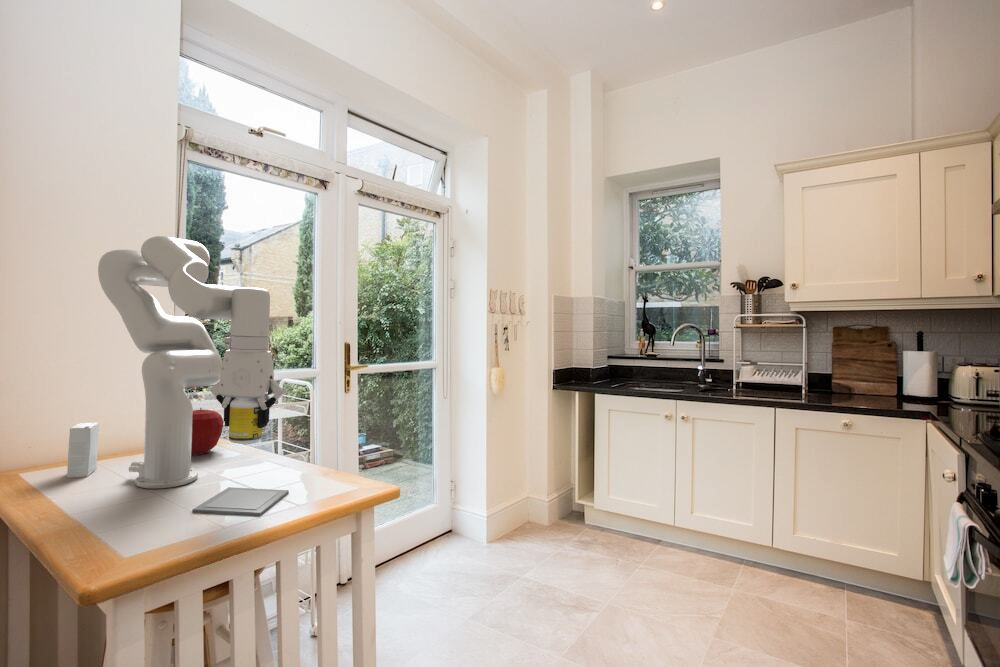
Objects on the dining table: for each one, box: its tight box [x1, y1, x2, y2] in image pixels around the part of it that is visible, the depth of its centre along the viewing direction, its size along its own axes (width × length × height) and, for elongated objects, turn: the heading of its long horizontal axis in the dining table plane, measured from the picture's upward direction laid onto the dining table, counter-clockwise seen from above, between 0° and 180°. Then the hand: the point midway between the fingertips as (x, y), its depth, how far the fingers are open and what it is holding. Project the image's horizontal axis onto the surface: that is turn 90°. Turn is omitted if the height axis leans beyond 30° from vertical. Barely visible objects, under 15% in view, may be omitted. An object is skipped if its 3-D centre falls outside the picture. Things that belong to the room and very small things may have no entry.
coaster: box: [191, 486, 290, 517], centre depth 112 cm, size 14×14×1 cm
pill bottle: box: [228, 397, 263, 445], centre depth 111 cm, size 6×6×12 cm
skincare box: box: [66, 422, 99, 479], centre depth 125 cm, size 6×4×12 cm
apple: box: [191, 407, 225, 456], centre depth 148 cm, size 12×12×13 cm
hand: (246, 425), depth 111 cm, fingers closed on pill bottle, 6 cm apart
